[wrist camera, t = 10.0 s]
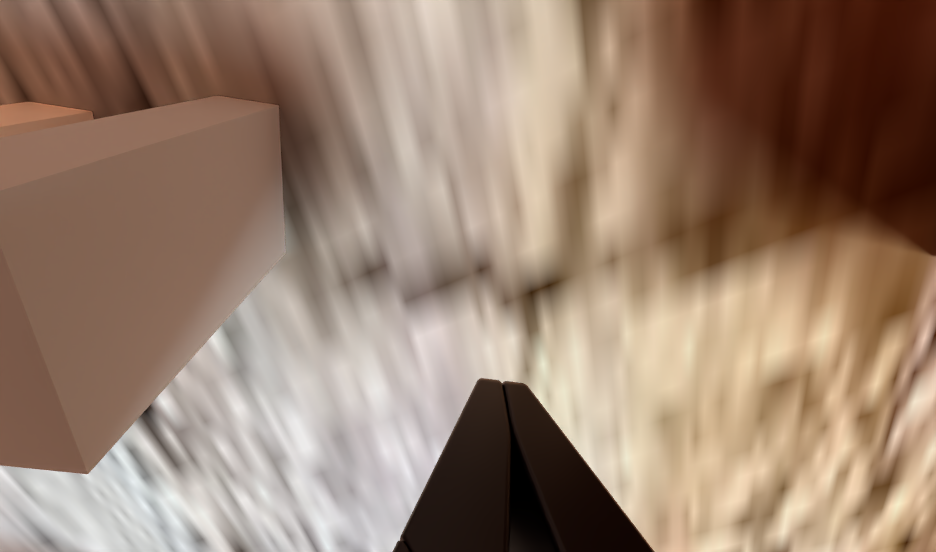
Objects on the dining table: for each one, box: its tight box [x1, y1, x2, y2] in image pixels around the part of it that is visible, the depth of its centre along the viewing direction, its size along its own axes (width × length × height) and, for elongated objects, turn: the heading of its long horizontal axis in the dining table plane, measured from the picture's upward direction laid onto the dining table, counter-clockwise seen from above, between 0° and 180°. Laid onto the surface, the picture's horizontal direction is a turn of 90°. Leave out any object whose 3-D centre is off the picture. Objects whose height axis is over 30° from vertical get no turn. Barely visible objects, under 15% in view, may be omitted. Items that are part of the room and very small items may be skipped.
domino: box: [0, 95, 286, 474], centre depth 9 cm, size 4×2×8 cm, turn 171°
